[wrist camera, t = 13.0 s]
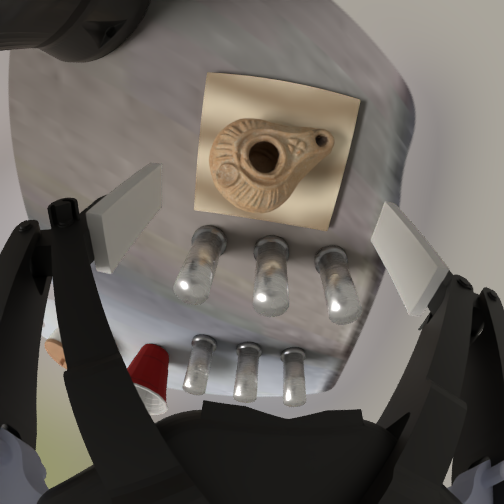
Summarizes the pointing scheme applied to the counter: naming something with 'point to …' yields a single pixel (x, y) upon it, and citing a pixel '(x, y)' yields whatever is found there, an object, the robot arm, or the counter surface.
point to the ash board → (285, 113)
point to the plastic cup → (151, 377)
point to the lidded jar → (56, 348)
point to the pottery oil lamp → (264, 161)
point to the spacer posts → (260, 308)
